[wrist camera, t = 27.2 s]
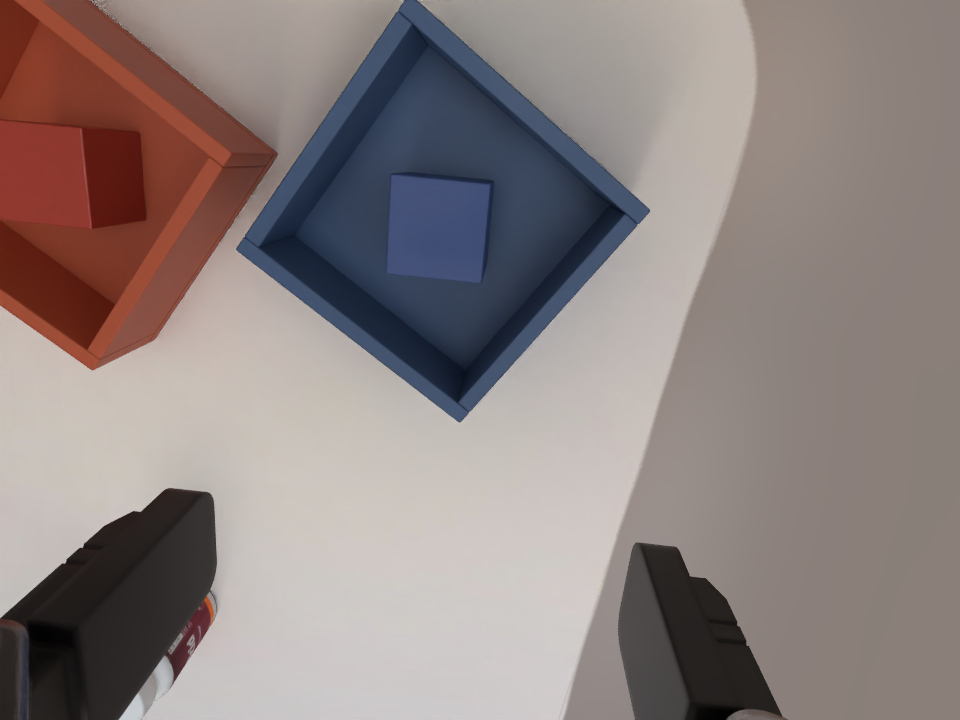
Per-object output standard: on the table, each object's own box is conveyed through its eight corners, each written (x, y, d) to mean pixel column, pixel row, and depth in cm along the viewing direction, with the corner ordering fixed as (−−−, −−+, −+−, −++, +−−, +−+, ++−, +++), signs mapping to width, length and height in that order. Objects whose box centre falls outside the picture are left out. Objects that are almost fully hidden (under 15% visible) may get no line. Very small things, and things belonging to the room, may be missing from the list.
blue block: (407, 171, 32) (389, 173, 28) (494, 180, 32) (491, 183, 28) (402, 259, 34) (385, 273, 29) (486, 267, 33) (481, 284, 29)
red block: (54, 123, 32) (-18, 117, 28) (140, 131, 32) (81, 127, 28) (65, 212, 34) (-2, 220, 29) (146, 220, 34) (91, 229, 29)
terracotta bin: (54, -28, 31) (-42, -67, 25) (278, 154, 33) (232, 152, 27) (-53, 189, 34) (-158, 195, 29) (154, 340, 37) (92, 371, 31)
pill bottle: (199, 641, 43) (127, 750, 35) (139, 606, 43) (53, 708, 35) (231, 598, 42) (164, 700, 34) (170, 561, 41) (87, 656, 33)
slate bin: (427, 22, 30) (409, -8, 25) (629, 202, 33) (651, 210, 27) (278, 235, 34) (235, 249, 29) (468, 385, 36) (459, 423, 31)
